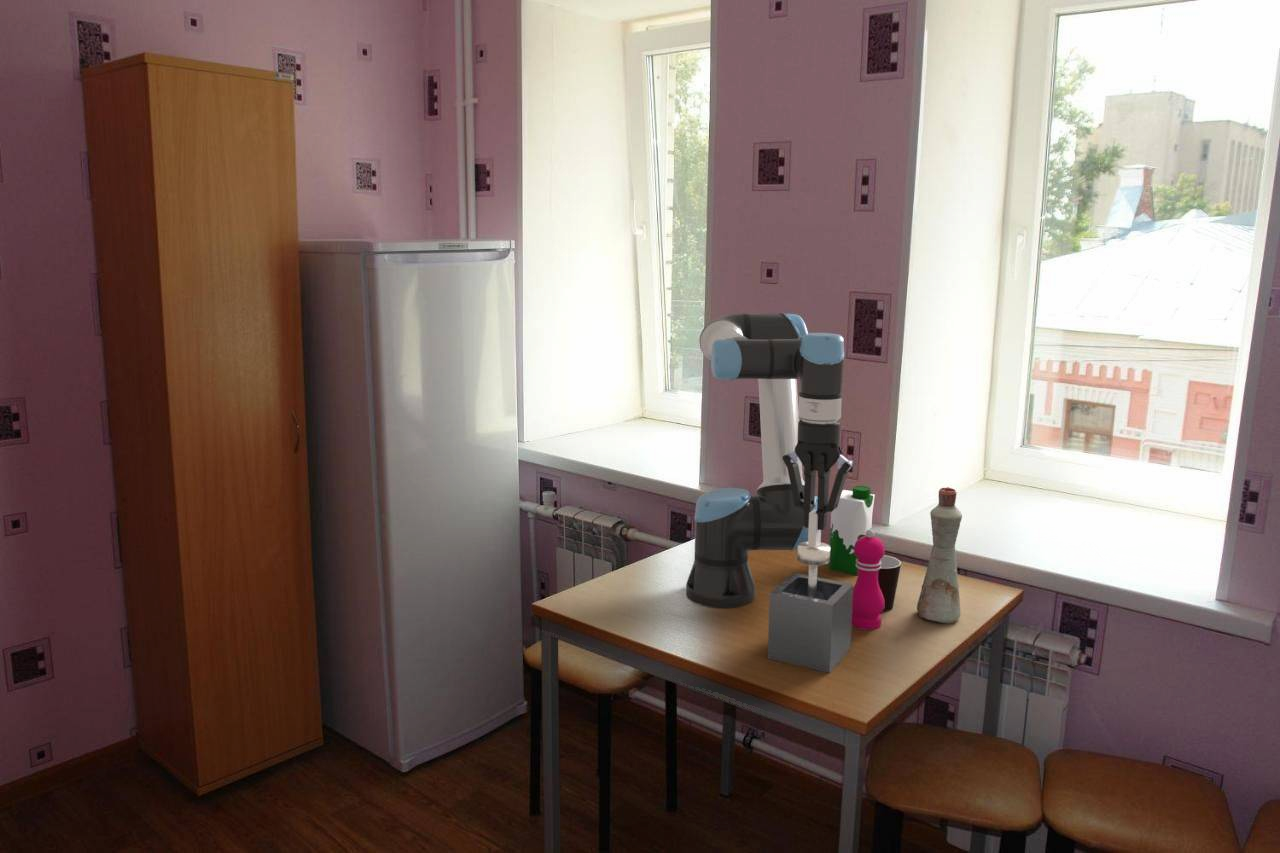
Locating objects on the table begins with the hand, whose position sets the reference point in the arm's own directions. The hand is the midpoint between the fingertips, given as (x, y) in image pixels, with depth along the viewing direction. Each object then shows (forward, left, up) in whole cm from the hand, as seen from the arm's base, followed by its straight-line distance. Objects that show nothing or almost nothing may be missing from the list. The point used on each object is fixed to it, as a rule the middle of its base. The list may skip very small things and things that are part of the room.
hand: (814, 545), depth 174 cm
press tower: (0, 0, -21) cm, 21 cm away
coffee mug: (+4, +31, -22) cm, 38 cm away
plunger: (0, 0, -15) cm, 15 cm away
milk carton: (-8, +49, -22) cm, 54 cm away
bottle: (+17, +30, -22) cm, 41 cm away
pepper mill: (+5, +19, -22) cm, 29 cm away
